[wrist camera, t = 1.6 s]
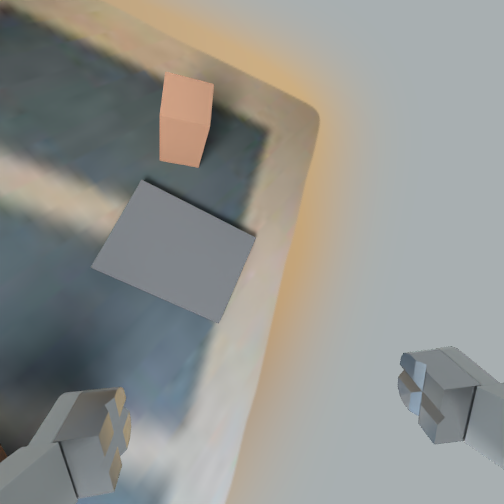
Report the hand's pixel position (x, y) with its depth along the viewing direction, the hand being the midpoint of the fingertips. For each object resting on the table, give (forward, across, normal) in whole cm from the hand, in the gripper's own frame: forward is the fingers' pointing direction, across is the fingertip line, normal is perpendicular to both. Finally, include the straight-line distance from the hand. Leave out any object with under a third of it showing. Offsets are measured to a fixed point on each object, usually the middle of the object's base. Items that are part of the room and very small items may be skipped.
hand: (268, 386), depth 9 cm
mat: (+30, +6, +5) cm, 31 cm away
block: (+37, +5, -7) cm, 38 cm away
